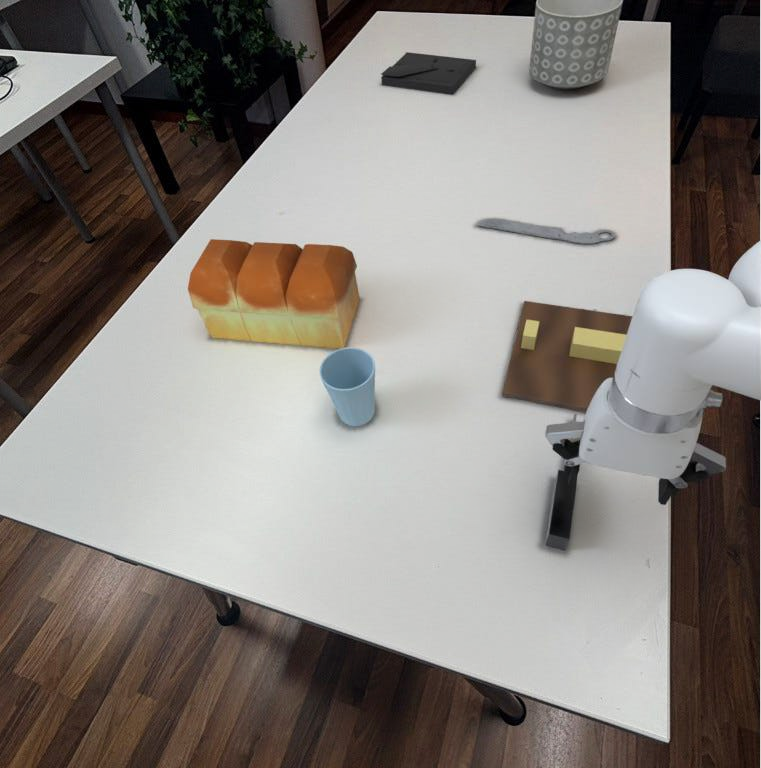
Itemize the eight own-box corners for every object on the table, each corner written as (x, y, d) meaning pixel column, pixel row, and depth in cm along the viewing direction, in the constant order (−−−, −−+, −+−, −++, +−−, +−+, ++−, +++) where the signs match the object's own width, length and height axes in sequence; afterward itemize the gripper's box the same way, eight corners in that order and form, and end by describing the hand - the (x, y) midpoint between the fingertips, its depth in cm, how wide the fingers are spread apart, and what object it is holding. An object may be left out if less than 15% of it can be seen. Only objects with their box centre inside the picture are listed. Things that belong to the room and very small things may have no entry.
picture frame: (381, 84, 151) (453, 94, 143) (380, 74, 148) (453, 83, 141) (407, 60, 159) (475, 68, 151) (406, 49, 156) (476, 57, 149)
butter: (625, 348, 86) (630, 335, 83) (624, 365, 84) (629, 352, 81) (571, 339, 88) (575, 326, 85) (569, 356, 86) (572, 343, 83)
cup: (367, 383, 88) (358, 339, 79) (391, 417, 83) (385, 373, 75) (324, 405, 86) (310, 362, 78) (346, 441, 81) (335, 399, 73)
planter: (605, 100, 134) (624, 15, 120) (524, 99, 138) (533, 17, 124) (605, 65, 145) (622, -17, 131) (530, 65, 149) (539, -14, 135)
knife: (483, 211, 112) (476, 226, 109) (484, 210, 111) (476, 224, 109) (615, 232, 104) (611, 249, 101) (615, 231, 103) (611, 247, 101)
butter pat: (537, 334, 89) (539, 321, 87) (533, 350, 87) (536, 337, 85) (524, 332, 90) (526, 319, 87) (520, 348, 88) (522, 335, 85)
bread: (362, 298, 100) (350, 230, 88) (346, 350, 92) (331, 283, 81) (233, 289, 105) (206, 223, 93) (208, 338, 97) (175, 273, 86)
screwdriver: (564, 550, 68) (569, 539, 66) (544, 545, 69) (548, 534, 66) (581, 425, 79) (585, 411, 76) (563, 422, 80) (567, 407, 77)
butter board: (636, 321, 90) (638, 316, 89) (629, 420, 79) (631, 416, 78) (523, 304, 95) (524, 300, 94) (502, 396, 84) (502, 392, 83)
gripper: (759, 377, 50) (698, 471, 63) (560, 349, 55) (543, 441, 68) (766, 447, 46) (700, 532, 59) (550, 409, 51) (534, 495, 64)
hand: (616, 483), depth 64 cm, fingers open, 9 cm apart
